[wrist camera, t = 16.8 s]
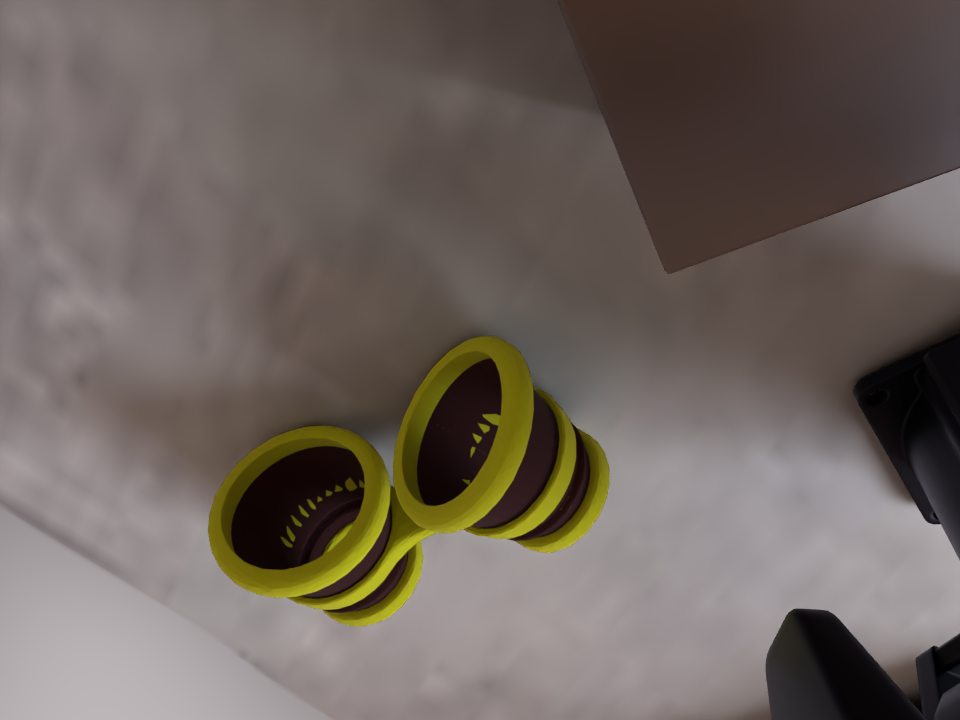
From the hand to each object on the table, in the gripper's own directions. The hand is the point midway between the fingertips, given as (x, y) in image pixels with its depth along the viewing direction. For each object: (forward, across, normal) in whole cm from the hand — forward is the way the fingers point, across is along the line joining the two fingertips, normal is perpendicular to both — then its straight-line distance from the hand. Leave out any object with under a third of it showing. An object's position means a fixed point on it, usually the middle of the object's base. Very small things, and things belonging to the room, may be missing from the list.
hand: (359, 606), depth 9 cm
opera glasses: (+13, 0, +10) cm, 17 cm away
